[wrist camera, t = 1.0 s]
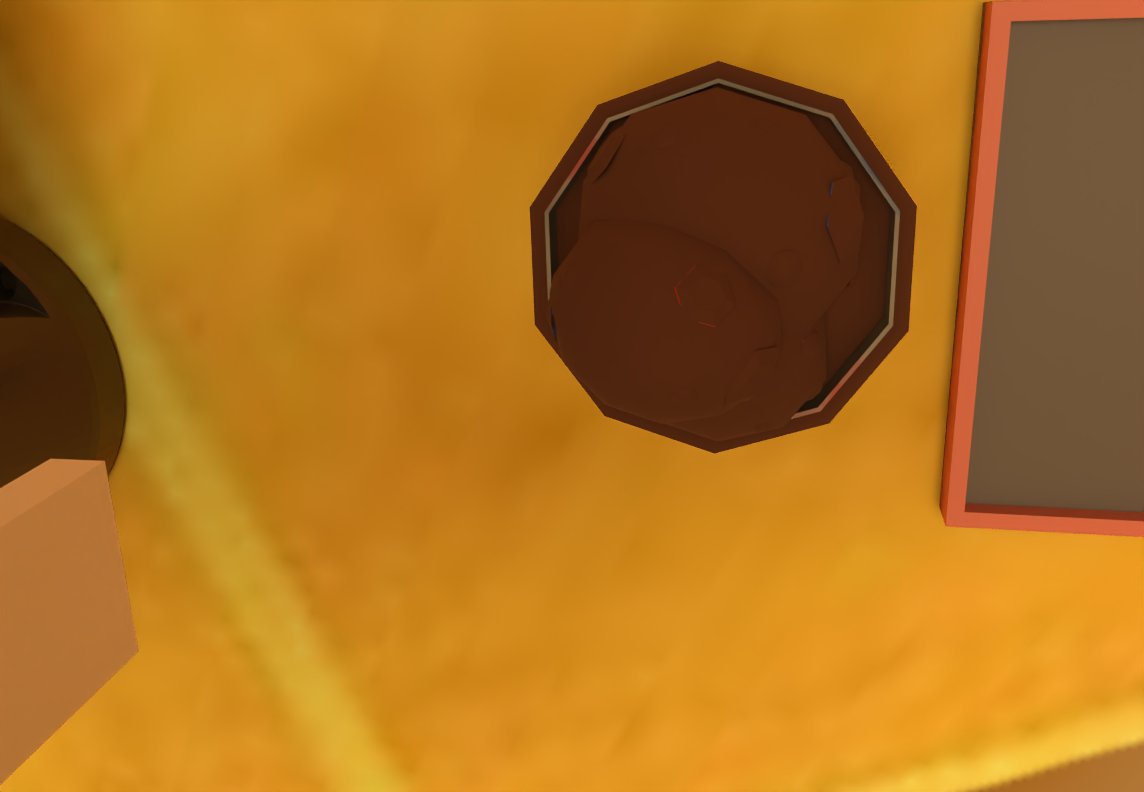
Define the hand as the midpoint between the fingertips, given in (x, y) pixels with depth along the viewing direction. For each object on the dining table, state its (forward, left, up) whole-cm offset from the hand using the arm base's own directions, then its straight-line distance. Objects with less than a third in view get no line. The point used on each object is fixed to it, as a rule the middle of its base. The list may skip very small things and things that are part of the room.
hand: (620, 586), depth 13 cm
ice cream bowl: (0, 0, -29) cm, 29 cm away
